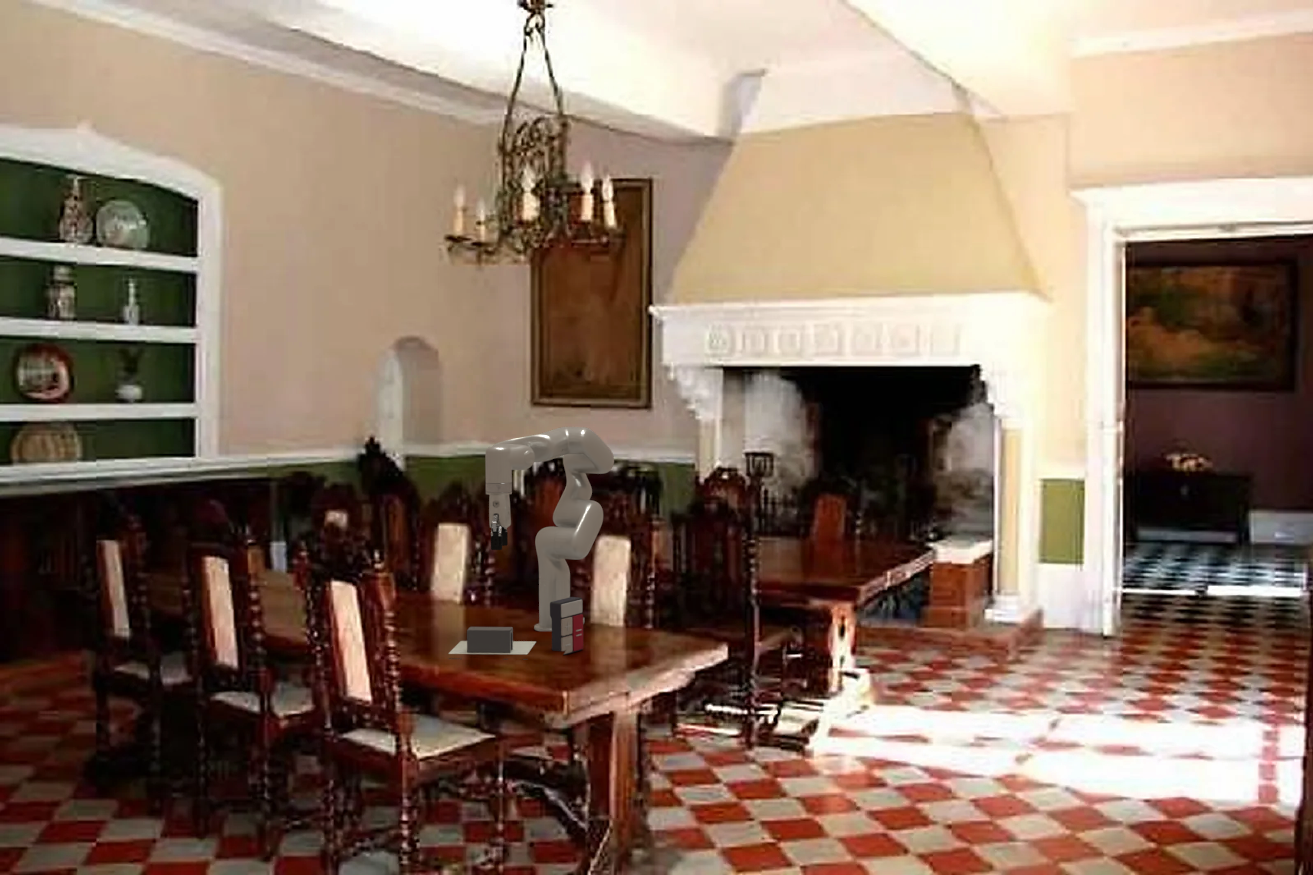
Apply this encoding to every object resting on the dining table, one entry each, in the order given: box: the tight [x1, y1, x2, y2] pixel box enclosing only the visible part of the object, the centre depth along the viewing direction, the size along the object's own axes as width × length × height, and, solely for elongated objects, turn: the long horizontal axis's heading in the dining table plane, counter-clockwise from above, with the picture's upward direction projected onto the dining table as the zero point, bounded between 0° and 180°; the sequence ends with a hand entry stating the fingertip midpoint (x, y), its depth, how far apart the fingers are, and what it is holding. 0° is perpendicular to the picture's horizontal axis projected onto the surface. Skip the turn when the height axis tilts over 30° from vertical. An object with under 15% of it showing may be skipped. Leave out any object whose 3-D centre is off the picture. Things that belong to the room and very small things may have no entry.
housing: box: [466, 626, 514, 653], centre depth 389 cm, size 12×5×6 cm, turn 87°
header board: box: [448, 640, 537, 661], centre depth 394 cm, size 22×18×6 cm
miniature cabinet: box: [550, 596, 584, 656], centre depth 393 cm, size 11×4×15 cm, turn 148°
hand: (499, 547), depth 404 cm, fingers open, 9 cm apart
